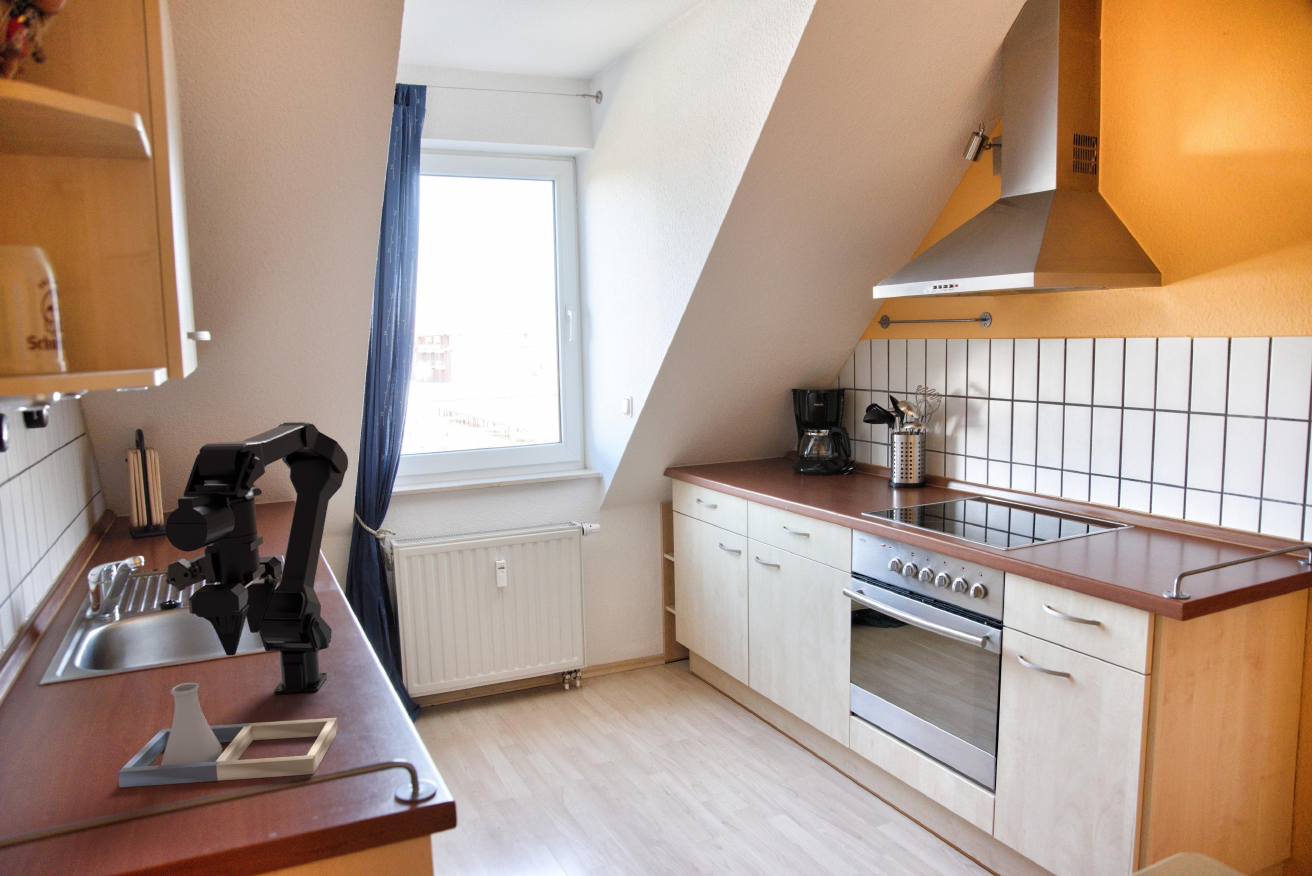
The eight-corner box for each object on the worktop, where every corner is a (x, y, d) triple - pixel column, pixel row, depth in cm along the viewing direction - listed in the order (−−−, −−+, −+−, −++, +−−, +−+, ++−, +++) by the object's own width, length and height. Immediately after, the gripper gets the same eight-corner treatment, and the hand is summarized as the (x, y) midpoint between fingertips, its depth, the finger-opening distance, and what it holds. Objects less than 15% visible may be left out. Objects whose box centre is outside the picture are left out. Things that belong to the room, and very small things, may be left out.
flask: (232, 747, 119) (226, 675, 118) (206, 773, 112) (199, 697, 111) (178, 748, 119) (171, 677, 118) (148, 775, 112) (141, 699, 111)
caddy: (163, 743, 121) (162, 728, 121) (337, 731, 123) (336, 717, 123) (119, 787, 109) (118, 772, 109) (313, 774, 111) (312, 758, 111)
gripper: (200, 522, 131) (209, 625, 133) (141, 553, 113) (152, 671, 114) (279, 518, 132) (286, 620, 134) (232, 548, 114) (242, 666, 115)
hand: (243, 643), depth 124 cm, fingers open, 9 cm apart
